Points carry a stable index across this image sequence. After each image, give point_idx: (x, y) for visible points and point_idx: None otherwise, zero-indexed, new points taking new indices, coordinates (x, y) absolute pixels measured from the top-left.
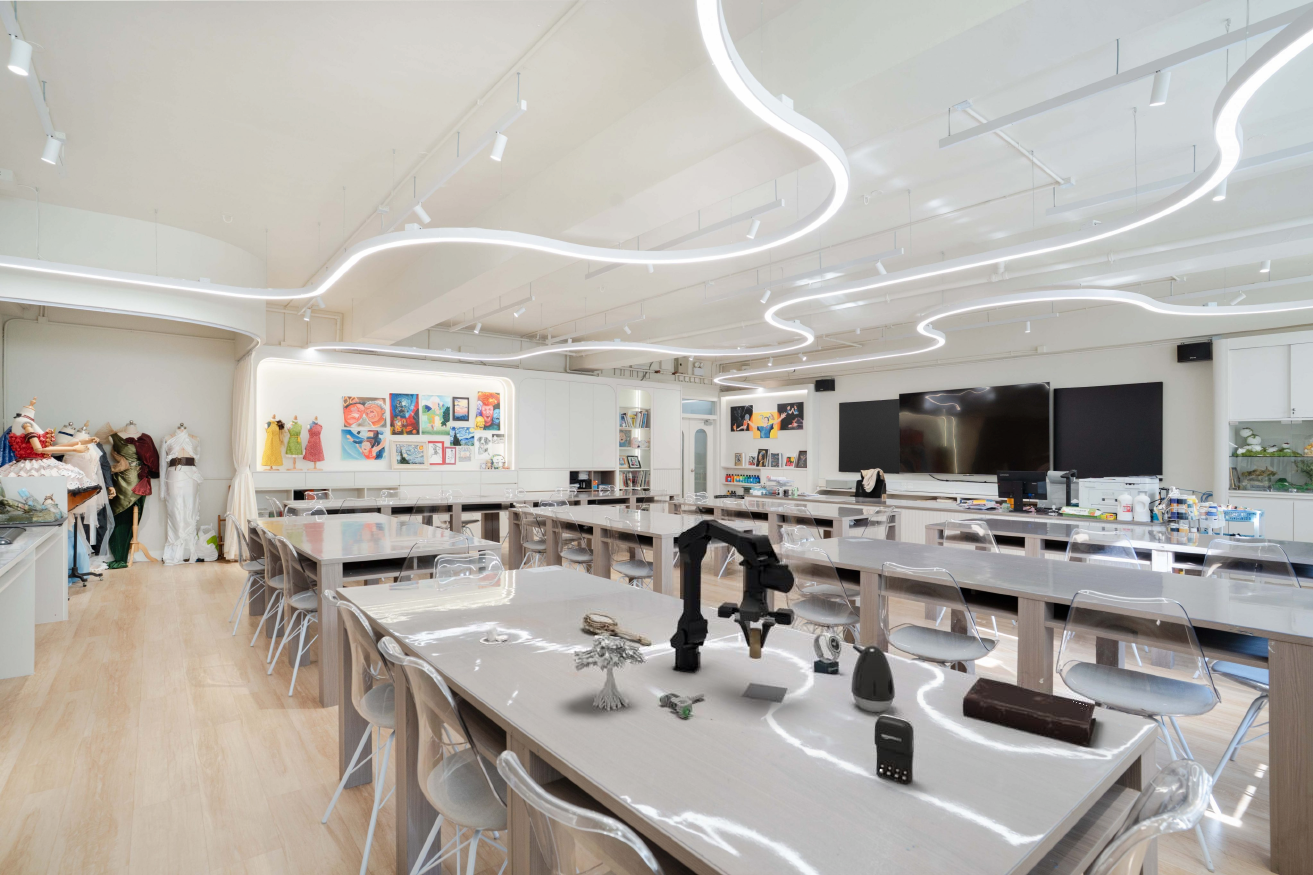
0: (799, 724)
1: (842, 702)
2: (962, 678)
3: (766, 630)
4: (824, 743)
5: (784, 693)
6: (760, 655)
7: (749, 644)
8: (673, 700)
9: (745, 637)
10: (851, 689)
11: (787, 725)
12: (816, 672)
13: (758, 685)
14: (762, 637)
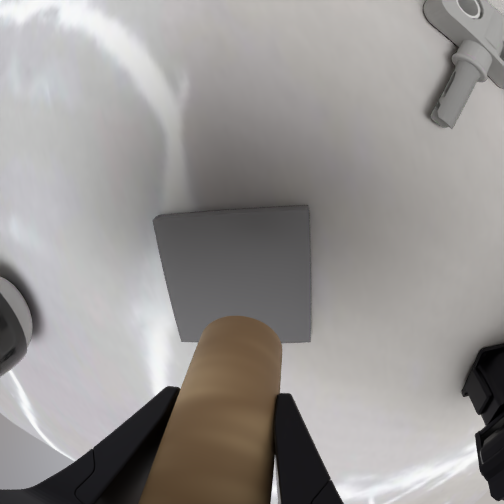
0: (76, 112)
1: (56, 311)
2: (23, 425)
3: (50, 488)
4: (19, 54)
5: (173, 300)
6: (196, 349)
7: (276, 408)
8: (496, 14)
9: (310, 451)
10: (11, 317)
11: (100, 82)
12: None
13: (276, 332)
14: (123, 448)
